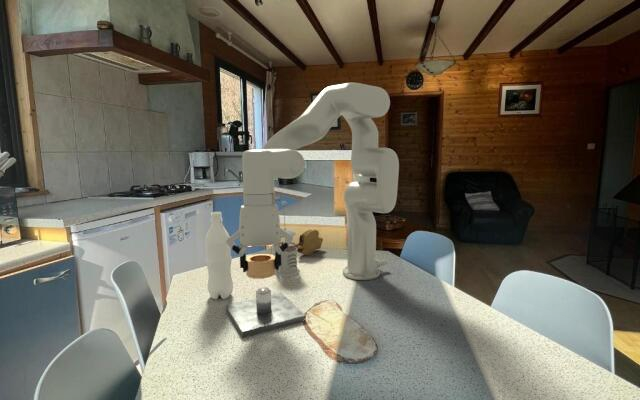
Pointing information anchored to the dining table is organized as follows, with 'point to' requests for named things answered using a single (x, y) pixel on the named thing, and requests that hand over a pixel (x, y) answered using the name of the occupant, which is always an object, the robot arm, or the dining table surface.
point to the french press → (288, 255)
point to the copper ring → (260, 266)
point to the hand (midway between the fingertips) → (261, 268)
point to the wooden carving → (309, 242)
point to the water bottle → (218, 258)
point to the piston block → (263, 313)
